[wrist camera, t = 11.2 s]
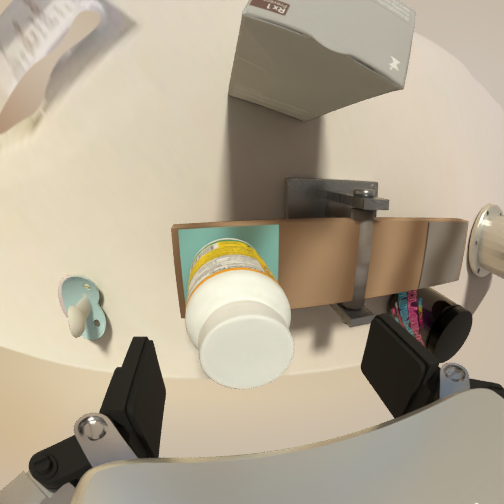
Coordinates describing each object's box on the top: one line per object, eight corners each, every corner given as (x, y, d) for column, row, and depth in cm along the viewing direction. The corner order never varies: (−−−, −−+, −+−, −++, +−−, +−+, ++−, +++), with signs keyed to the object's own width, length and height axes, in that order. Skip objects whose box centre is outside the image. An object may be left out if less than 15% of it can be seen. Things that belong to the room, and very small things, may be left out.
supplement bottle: (192, 233, 18) (181, 294, 9) (268, 239, 20) (323, 299, 10) (188, 304, 20) (183, 398, 11) (259, 307, 21) (296, 396, 12)
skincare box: (322, 72, 23) (424, 8, 8) (302, 131, 24) (414, 97, 9) (243, 41, 21) (288, -65, 6) (218, 100, 22) (241, 9, 7)
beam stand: (372, 181, 27) (422, 188, 19) (362, 292, 31) (401, 325, 23) (285, 178, 25) (318, 182, 18) (283, 302, 29) (308, 345, 22)
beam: (458, 211, 24) (470, 214, 23) (447, 281, 27) (458, 287, 25) (173, 213, 20) (169, 217, 18) (183, 316, 22) (182, 328, 20)
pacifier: (71, 327, 26) (113, 328, 27) (49, 358, 20) (96, 362, 21) (54, 270, 24) (98, 267, 25) (24, 293, 18) (72, 292, 19)
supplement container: (408, 267, 31) (464, 300, 21) (427, 292, 33) (477, 325, 23) (376, 308, 32) (426, 352, 22) (399, 329, 34) (443, 369, 24)
